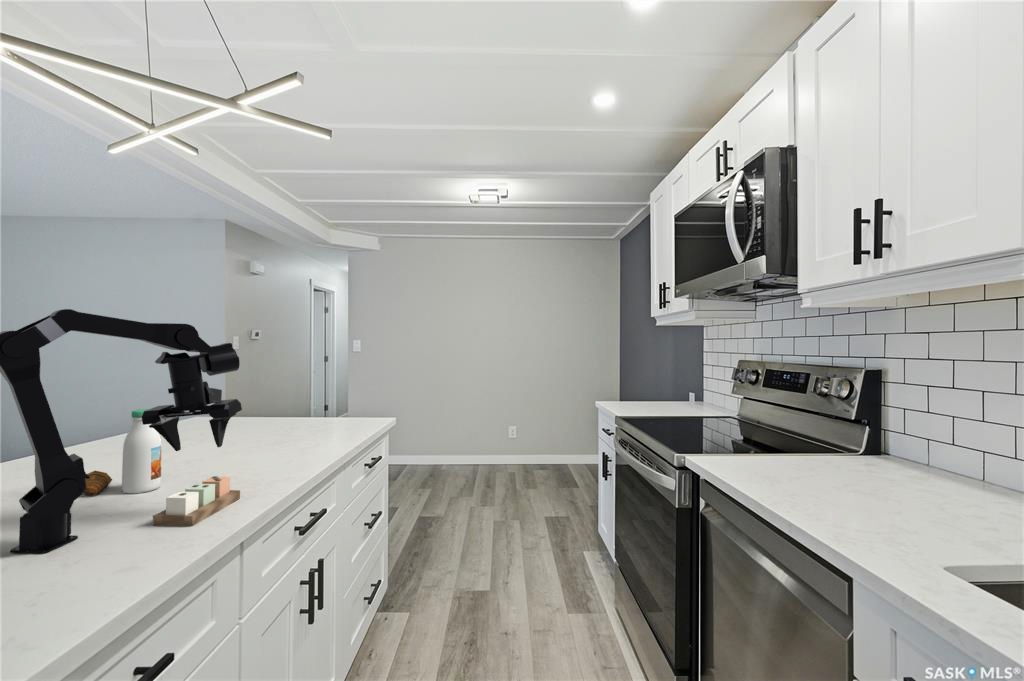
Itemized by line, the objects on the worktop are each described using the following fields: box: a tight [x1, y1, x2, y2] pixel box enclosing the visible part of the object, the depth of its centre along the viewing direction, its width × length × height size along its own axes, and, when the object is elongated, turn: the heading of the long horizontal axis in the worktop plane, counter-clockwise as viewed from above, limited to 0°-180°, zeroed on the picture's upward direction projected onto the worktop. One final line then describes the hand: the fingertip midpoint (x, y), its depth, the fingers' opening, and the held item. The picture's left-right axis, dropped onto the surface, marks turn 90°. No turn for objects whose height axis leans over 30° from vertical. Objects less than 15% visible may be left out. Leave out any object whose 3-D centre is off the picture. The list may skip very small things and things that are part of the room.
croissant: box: [82, 470, 113, 497], centre depth 118 cm, size 14×7×5 cm, turn 37°
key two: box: [184, 483, 215, 506], centre depth 105 cm, size 4×4×4 cm
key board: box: [152, 489, 241, 527], centre depth 105 cm, size 17×8×2 cm, turn 0°
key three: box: [201, 475, 231, 497], centre depth 110 cm, size 4×4×4 cm
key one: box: [165, 491, 199, 515], centre depth 99 cm, size 4×4×4 cm
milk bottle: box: [121, 408, 162, 494], centre depth 119 cm, size 8×8×20 cm
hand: (199, 448), depth 106 cm, fingers open, 9 cm apart
